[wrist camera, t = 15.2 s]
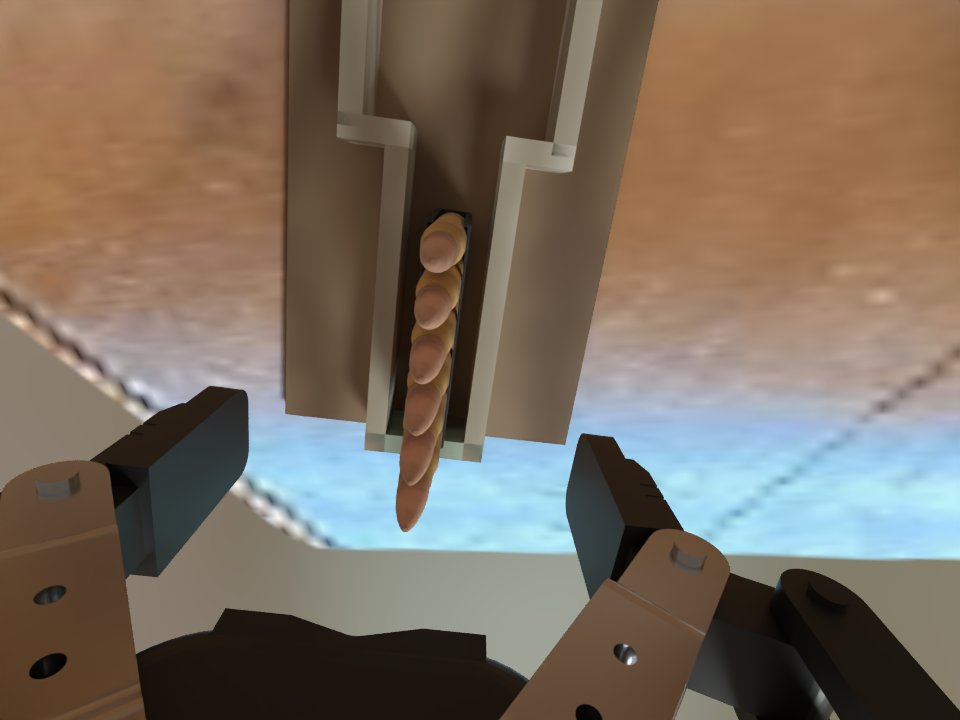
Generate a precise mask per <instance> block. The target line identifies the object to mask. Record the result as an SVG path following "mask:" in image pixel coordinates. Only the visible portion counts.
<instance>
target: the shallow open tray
mask: <svg viewBox="0 0 960 720" xmlns="http://www.w3.org/2000/svg"><path fill="white" fill-rule="evenodd" d="M658 1H659V0H290V20H289V117H288V214H287V311H286V409H285V414H291V415H300V416H309V417H318V418H327V419H336V420H345V421H354V422H363V423H366V433H365V448H364V450H370V451H380V452H389V453H398V454H401V445H402V441H403V433H404V427H403V420H404V414H405V402H406V397H407V390H408V385H407V378H408V373H409V370H410V367H409V360H410V352H411V347H412V342H411V337H412V330H413V328H414V326H415V319H416V318H415V314H414V308H415V301H416V286H417V284H418V282H419V278H420V268H421V260H420V243H421V237H422V235H423V233H424V227H425V219H426V218H427V217H428V216H429V215H430V214H431V213H432V212H434V211H435V209H436V208H441V209H448V210H455V211H462V212H469V213H471V215H472V222H471V231H470V239H469V247H468V255H467V263H466V271H465V279H464V287H463V295H462V303H461V311H460V318H459V326H458V334H457V342H456V350H455V358H454V366H453V374H452V382H451V390H450V398H449V406H448V414H447V422H446V429H445V437H444V445H443V448H440V455H439V458H445V459H454V460H463V461H473V462H481V458H482V452H483V445H484V439H485V436H489V437H498V438H507V439H516V440H525V441H534V442H543V443H552V444H561V445H565V443H566V438H567V433H568V429H569V424H570V419H571V414H572V410H573V405H574V400H575V395H576V391H577V386H578V381H579V376H580V372H581V367H582V362H583V357H584V353H585V348H586V343H587V338H588V334H589V329H590V324H591V319H592V315H593V310H594V305H595V300H596V296H597V291H598V286H599V281H600V277H601V272H602V267H603V262H604V258H605V253H606V248H607V243H608V239H609V234H610V229H611V224H612V220H613V215H614V210H615V205H616V201H617V196H618V191H619V186H620V182H621V177H622V172H623V167H624V163H625V158H626V153H627V148H628V143H629V139H630V134H631V129H632V124H633V120H634V115H635V110H636V105H637V101H638V96H639V91H640V86H641V82H642V77H643V72H644V67H645V63H646V58H647V53H648V48H649V44H650V39H651V34H652V29H653V25H654V20H655V15H656V10H657V6H658ZM425 269H426V268H425Z"/></svg>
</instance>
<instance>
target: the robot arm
mask: <svg viewBox="0 0 960 720" xmlns="http://www.w3.org/2000/svg"><path fill="white" fill-rule="evenodd" d="M248 452H249V430H248V396H247V393H246V392H245V391H244V390H239V389H231V388H223V387H215V386H209V387H207V388H206V389H204V390H203V391H202V392H200V393H199V394H198V395H196V396H195V397H194V398H192V399H191V400H190V401H188V402H187V403H181V404H178V405H176V406H173V407H170V408H168V409H165V410H162V411H159V412H158V413H157V414H155V415H154V416H152V417H151V418H149V419H148V420H147V421H145V422H144V423H143V425H140V426H138V427H137V428H135V429H134V430H132V431H131V432H130V435H125V436H124V437H122V438H121V439H120V440H118V441H117V442H116V443H114V444H113V445H111V446H110V447H108V448H107V449H105V450H104V451H103V452H101V453H100V454H98V455H97V456H95V457H94V458H93V459H91V460H90V461H84V460H74V461H63V462H57V463H51V464H47V465H43V466H40V467H37V468H34V469H31V470H29V471H26V472H24V473H22V474H20V475H18V476H17V477H15V478H14V479H12V480H11V481H10V482H8V483H7V484H6V485H5V487H4V488H3V491H2V492H0V720H675V717H676V715H677V712H678V709H679V707H680V704H681V702H682V699H683V696H684V694H685V691H686V689H687V688H688V689H691V690H693V691H696V692H698V693H701V694H703V695H706V696H708V697H711V698H713V699H716V700H718V701H721V702H723V703H726V704H728V705H731V706H733V707H734V709H735V712H736V714H737V717H738V719H739V720H830V719H829V718H830V716H831V714H832V712H833V710H834V711H835V712H836V714H837V716H838V717H839V719H840V720H960V711H959V709H958V708H957V707H956V706H955V705H954V704H953V703H952V701H951V700H950V699H949V698H948V697H947V696H946V695H945V693H944V692H943V691H942V690H941V689H940V688H939V687H938V685H936V683H935V682H934V681H933V680H932V679H931V677H930V676H929V675H928V674H927V673H926V672H925V671H924V669H923V668H922V667H921V666H920V665H919V664H918V662H917V661H916V660H915V659H914V658H913V657H912V656H911V655H910V653H909V652H908V651H907V650H906V649H905V648H904V646H903V645H902V644H901V643H900V642H899V641H898V640H897V638H896V637H895V636H894V635H893V634H892V633H891V632H890V631H889V629H888V628H887V627H886V626H885V625H884V624H883V623H882V621H881V620H880V619H879V618H878V617H877V615H876V614H875V613H874V612H873V611H872V610H871V609H870V607H869V606H868V605H867V604H866V603H865V602H864V601H863V600H862V599H861V598H860V597H859V596H857V595H856V594H855V593H853V592H852V591H851V590H849V589H848V588H847V587H845V586H843V585H842V584H840V583H838V582H837V581H835V580H833V579H831V578H829V577H826V576H824V575H821V574H819V573H816V572H813V571H809V570H804V569H789V570H786V571H785V572H783V573H782V574H781V576H780V579H779V581H778V584H777V586H776V588H773V587H771V586H768V585H765V584H761V583H758V582H755V581H752V580H749V579H746V578H743V577H740V576H738V575H735V574H732V573H730V566H729V563H728V561H727V560H726V558H725V557H724V555H723V554H722V553H721V552H720V551H719V550H718V549H717V548H716V547H714V546H713V545H712V544H710V543H709V542H707V541H706V540H704V539H702V538H700V537H698V536H696V535H694V534H691V533H688V532H685V531H684V530H683V528H682V526H681V525H680V523H679V521H678V520H677V518H676V516H675V515H674V513H673V511H672V510H671V508H670V506H669V505H668V503H667V502H666V500H664V497H663V495H662V493H661V492H660V490H659V488H657V485H656V483H655V482H654V480H653V478H652V477H651V475H650V474H649V472H648V471H647V470H645V469H644V468H643V467H642V466H640V465H639V464H638V463H637V462H636V461H634V460H632V459H625V457H624V455H623V453H622V452H621V450H620V448H619V446H618V444H617V442H616V441H615V439H614V438H613V437H608V436H600V435H592V434H584V433H583V434H581V436H580V438H579V440H578V444H577V448H576V452H575V457H574V461H573V465H572V470H571V474H570V478H569V483H568V487H567V493H566V514H567V518H568V522H569V525H570V529H571V533H572V536H573V540H574V544H575V547H576V551H577V554H578V558H579V561H580V565H581V569H582V572H583V576H584V580H585V583H586V587H587V590H588V594H589V598H590V601H589V602H588V603H587V605H586V606H585V608H584V609H583V610H582V611H581V613H580V614H579V615H578V617H577V618H576V619H575V621H574V622H573V623H572V625H571V626H570V627H569V628H568V630H567V631H566V632H565V634H564V635H563V637H562V638H561V639H560V640H559V642H558V643H557V644H556V646H555V647H554V648H553V650H552V651H551V652H550V654H549V655H548V656H547V658H546V659H545V660H544V661H543V663H542V664H541V665H540V667H539V668H538V669H537V671H536V672H535V673H534V675H533V676H532V677H531V679H530V680H528V679H527V678H525V677H524V676H522V675H521V674H519V673H517V672H516V671H514V670H513V669H511V668H510V667H508V666H505V665H503V664H501V663H499V662H497V661H495V660H492V659H489V658H487V657H486V635H479V634H470V633H460V632H450V631H441V630H430V629H417V630H408V631H400V632H391V633H383V634H374V635H366V636H350V635H346V634H343V633H341V632H338V631H335V630H332V629H329V628H326V627H323V626H320V625H318V624H315V623H312V622H309V621H306V620H303V619H301V618H298V617H295V616H292V615H285V614H276V613H266V612H256V611H246V610H236V609H227V608H225V610H224V612H223V614H222V615H221V617H220V619H219V620H218V622H217V624H216V625H215V627H214V629H213V630H211V631H203V632H198V633H194V634H189V635H185V636H181V637H178V638H175V639H171V640H168V641H165V642H163V643H160V644H158V645H155V646H152V647H150V648H148V649H146V650H144V651H141V652H139V653H137V654H136V652H135V645H134V638H133V631H132V624H131V618H130V610H129V602H128V595H127V589H126V581H125V580H126V579H127V577H128V576H129V575H130V574H132V575H142V576H152V577H158V576H159V575H160V574H161V572H162V571H163V570H164V569H165V568H166V566H167V565H168V564H169V563H170V561H171V560H172V559H173V558H174V557H175V555H176V554H177V553H178V552H179V551H180V549H181V548H182V547H183V546H184V544H185V543H186V542H187V541H188V540H189V538H190V537H191V536H192V535H193V533H194V532H195V531H196V530H197V529H198V527H199V526H200V525H201V524H202V522H203V521H204V520H205V519H206V517H207V516H208V515H209V514H210V513H211V512H212V510H213V509H214V508H215V507H216V505H217V504H218V503H219V502H220V500H221V499H222V498H223V497H224V496H225V494H226V493H227V492H228V491H229V490H230V488H231V487H232V486H233V485H234V483H235V482H236V481H237V480H238V479H239V477H240V476H241V475H242V473H243V471H244V469H245V466H246V463H247V459H248Z"/></svg>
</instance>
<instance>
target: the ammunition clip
mask: <svg viewBox="0 0 960 720" xmlns="http://www.w3.org/2000/svg"><path fill="white" fill-rule="evenodd" d="M471 222H472V215H471V213H469V212H462V211H455V210H448V209H441V208H436V209H435V211H434V212H432V213H431V214H430V215H429V216H428V217H427V218H426V219H425V227H424V233H423V235H422V237H421V243H420V260H421V268H420V278H419V282H418V284H417V286H416V301H415V308H414V314H415V318H416V319H415V326H414V328H413V330H412V337H411V342H412V347H411V352H410V360H409V367H410V370H409V373H408V378H407V385H408V390H407V397H406V402H405V414H404V420H403V427H404V433H403V441H402V445H401V454H400V462H399V465H400V474H399V482H398V488H397V495H396V515H397V520H398V523H399V526H400V528H401V530H402V531H403V532H408V531H409V530H410V529H412V528H413V527H414V525H415V524H416V523H417V521H418V519H419V518H420V516H421V514H422V512H423V510H424V508H425V505H426V502H427V499H428V494H429V488H430V486H431V482H432V478H433V475H434V473H435V471H436V469H437V467H438V462H439V455H440V448H443V445H444V437H445V429H446V422H447V414H448V406H449V398H450V390H451V382H452V374H453V366H454V358H455V350H456V342H457V334H458V326H459V318H460V311H461V303H462V295H463V287H464V279H465V271H466V263H467V255H468V247H469V239H470V231H471ZM425 268H426V269H425Z"/></svg>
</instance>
